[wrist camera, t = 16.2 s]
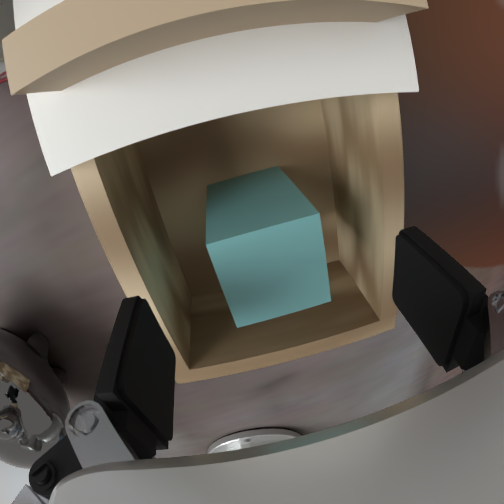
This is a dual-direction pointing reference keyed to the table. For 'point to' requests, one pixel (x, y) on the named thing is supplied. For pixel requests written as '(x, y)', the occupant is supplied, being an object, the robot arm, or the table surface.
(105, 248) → the tan open box
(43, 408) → the piggy bank
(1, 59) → the ink box
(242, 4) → the lid
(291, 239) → the block
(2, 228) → the table surface
